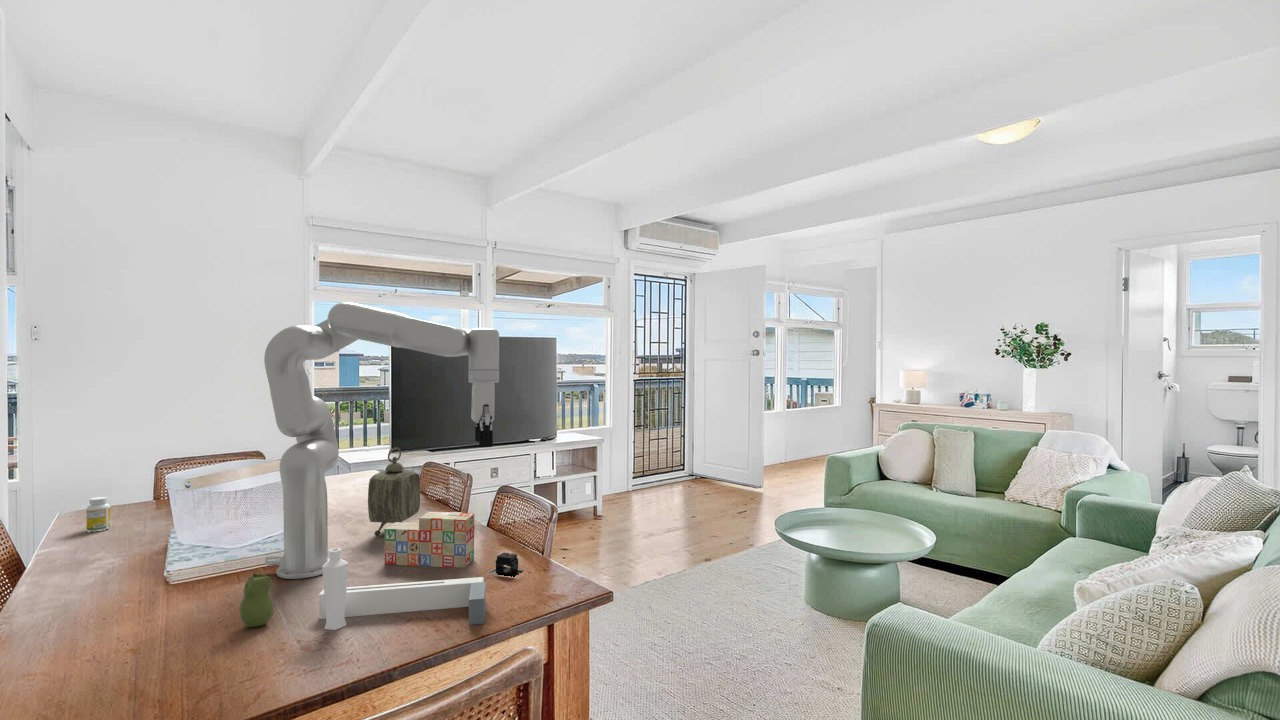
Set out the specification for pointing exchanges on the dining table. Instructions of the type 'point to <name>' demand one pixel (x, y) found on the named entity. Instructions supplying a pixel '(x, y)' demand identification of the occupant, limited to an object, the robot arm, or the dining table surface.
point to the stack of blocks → (432, 540)
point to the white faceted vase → (335, 590)
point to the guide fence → (415, 598)
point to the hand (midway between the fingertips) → (483, 443)
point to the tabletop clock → (393, 494)
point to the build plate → (509, 561)
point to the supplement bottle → (98, 514)
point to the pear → (257, 601)
